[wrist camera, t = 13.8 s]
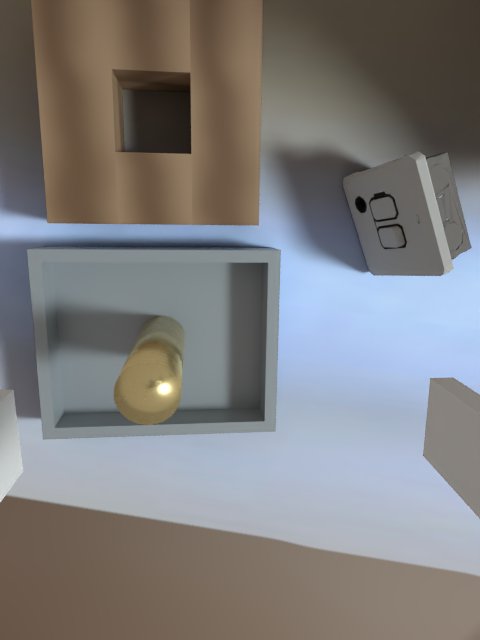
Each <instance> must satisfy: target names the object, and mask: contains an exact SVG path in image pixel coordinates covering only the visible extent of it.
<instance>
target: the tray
mask: <svg viewBox="0 0 480 640" xmlns="http://www.w3.org/2000/svg"><path fill="white" fill-rule="evenodd" d="M27 256H28V268H29V280H30V292H31V303H32V315H33V327H34V339H35V350H36V362H37V374H38V386H39V397H40V409H41V421H42V433H43V439H69V438H98V437H127V436H156V435H185V434H214V433H243V432H272V431H275V430H276V395H277V360H278V326H279V291H280V256H281V250H278V249H275V248H211V247H37V248H31V249H27ZM156 316H168V317H171V318H173V319H175V320H176V321H178V322H179V323H180V324H181V326H182V328H183V330H184V333H185V345H184V360H183V375H182V390H181V400H180V403H179V406H178V408H177V410H176V411H175V412H174V414H173V415H172V416H171V417H169V418H168V419H167V420H165V421H163V422H161V423H158V424H154V425H141V424H137V423H134V422H132V421H130V420H128V419H127V418H125V417H124V416H123V415H122V414H121V413H120V411H119V410H118V408H117V406H116V404H115V401H114V386H115V383H116V381H117V379H118V377H119V375H120V373H121V370H122V368H123V366H124V364H125V362H126V360H127V358H128V356H129V354H130V352H131V350H132V348H133V346H134V344H135V342H136V340H137V337H138V335H139V333H140V331H141V329H142V327H143V326H144V324H145V323H146V322H147V321H148V320H150V319H151V318H153V317H156Z"/></svg>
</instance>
